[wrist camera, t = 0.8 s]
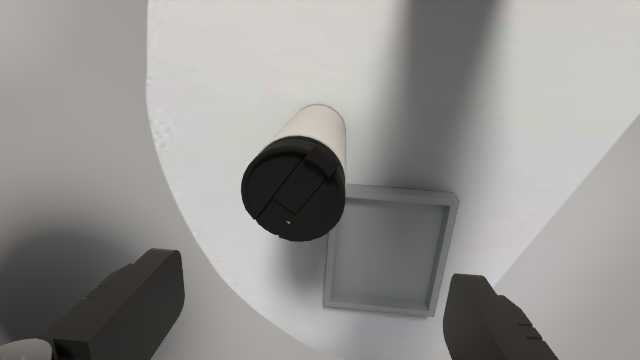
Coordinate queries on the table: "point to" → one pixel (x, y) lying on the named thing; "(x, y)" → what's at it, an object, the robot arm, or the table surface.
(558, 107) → the table surface
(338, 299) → the tray
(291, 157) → the travel mug
